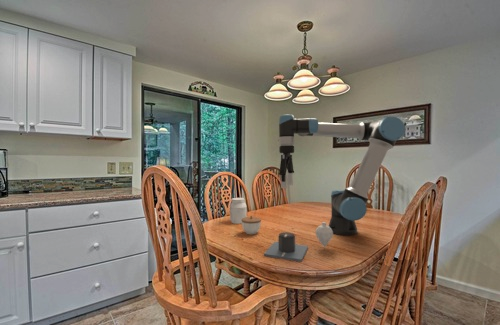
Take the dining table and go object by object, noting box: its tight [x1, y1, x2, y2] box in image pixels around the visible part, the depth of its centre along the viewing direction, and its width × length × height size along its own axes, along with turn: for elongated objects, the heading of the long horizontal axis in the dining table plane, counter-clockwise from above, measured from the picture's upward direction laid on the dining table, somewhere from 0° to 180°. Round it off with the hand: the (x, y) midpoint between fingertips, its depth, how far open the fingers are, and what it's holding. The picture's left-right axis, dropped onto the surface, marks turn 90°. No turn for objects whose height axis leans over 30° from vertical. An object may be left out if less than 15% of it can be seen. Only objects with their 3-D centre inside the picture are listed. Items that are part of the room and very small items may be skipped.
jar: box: [229, 197, 248, 225], centre depth 159 cm, size 12×10×15 cm
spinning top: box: [315, 221, 334, 249], centre depth 111 cm, size 8×8×12 cm
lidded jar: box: [241, 215, 262, 235], centre depth 135 cm, size 11×11×9 cm
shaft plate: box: [263, 241, 309, 263], centre depth 107 cm, size 16×16×6 cm
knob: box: [278, 231, 296, 253], centre depth 107 cm, size 7×7×7 cm
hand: (287, 186), depth 125 cm, fingers open, 13 cm apart
